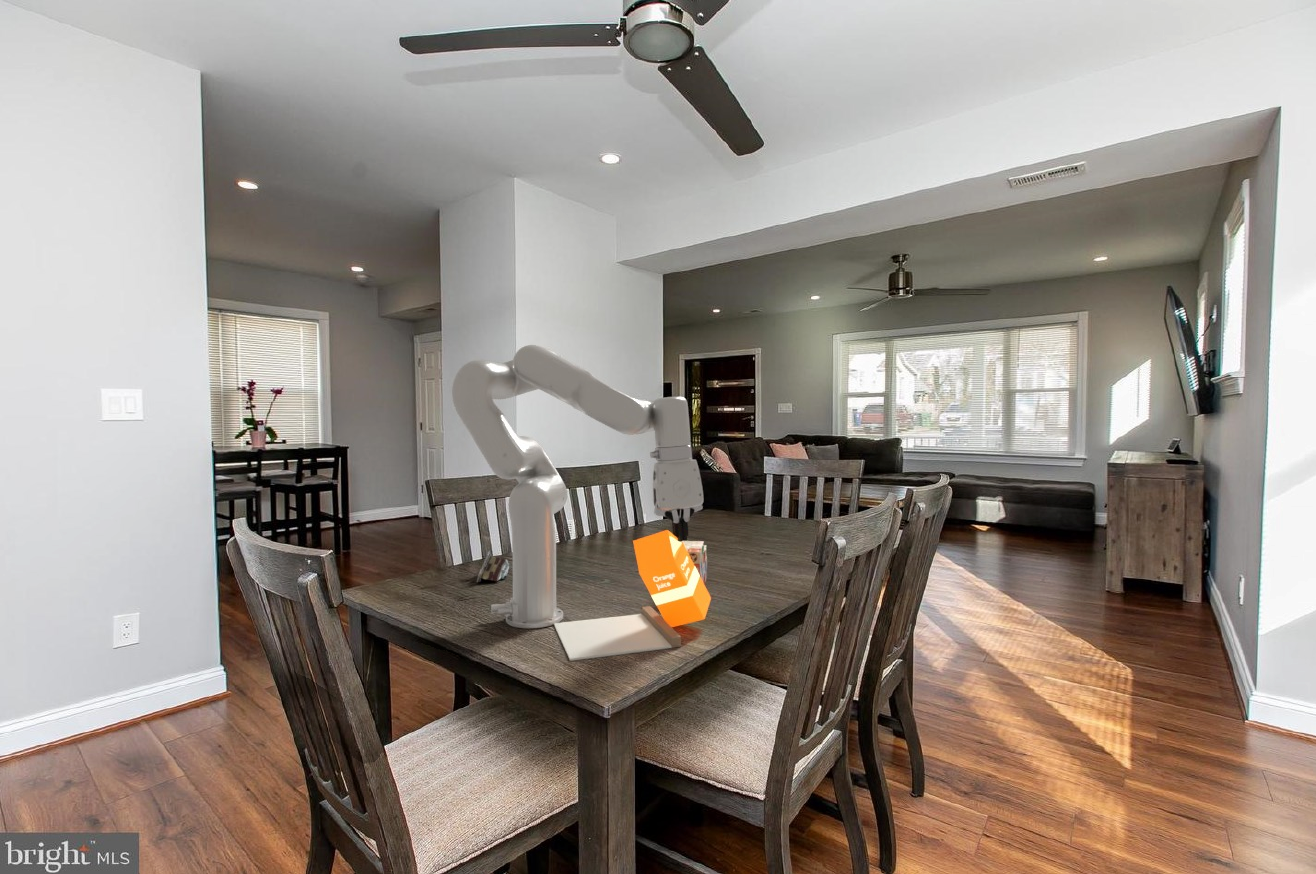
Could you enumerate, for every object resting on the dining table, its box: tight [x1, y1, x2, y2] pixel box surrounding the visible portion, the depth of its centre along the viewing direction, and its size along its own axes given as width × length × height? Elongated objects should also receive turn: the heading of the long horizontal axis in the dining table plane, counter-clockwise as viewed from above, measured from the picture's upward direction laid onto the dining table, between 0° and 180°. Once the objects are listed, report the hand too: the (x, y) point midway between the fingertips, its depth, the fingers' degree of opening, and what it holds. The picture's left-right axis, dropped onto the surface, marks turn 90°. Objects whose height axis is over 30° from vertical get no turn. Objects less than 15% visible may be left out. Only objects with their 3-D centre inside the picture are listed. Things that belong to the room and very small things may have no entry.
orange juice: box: [632, 529, 712, 628], centre depth 128 cm, size 8×9×20 cm
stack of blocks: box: [682, 540, 708, 584], centre depth 159 cm, size 21×6×12 cm, turn 170°
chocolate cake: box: [476, 549, 510, 583], centre depth 166 cm, size 10×7×12 cm
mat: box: [553, 605, 682, 662], centre depth 124 cm, size 22×20×2 cm
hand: (681, 540), depth 128 cm, fingers closed
